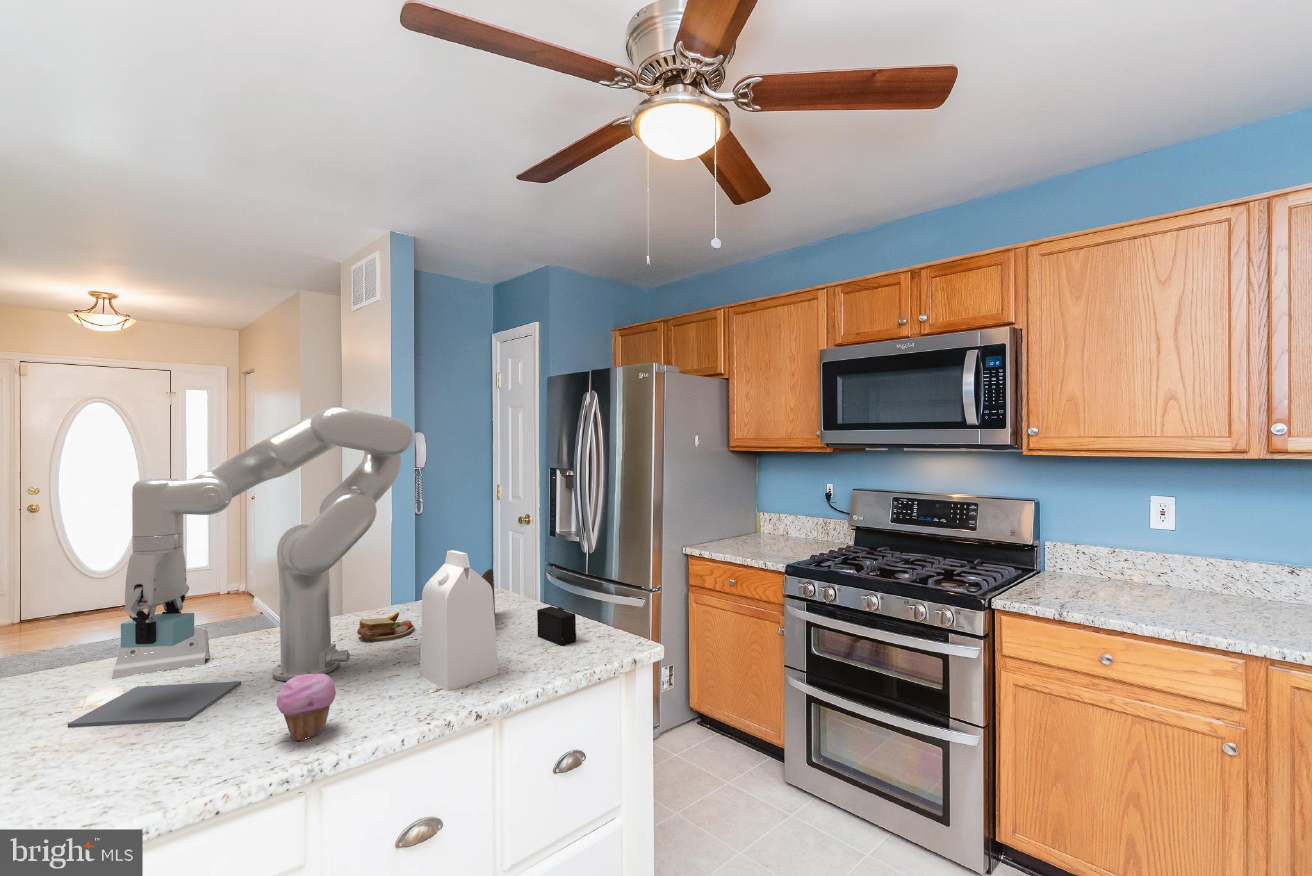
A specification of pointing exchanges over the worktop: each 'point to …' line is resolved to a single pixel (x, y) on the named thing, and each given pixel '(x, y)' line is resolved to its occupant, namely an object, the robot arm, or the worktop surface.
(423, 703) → the worktop surface
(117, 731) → the worktop surface
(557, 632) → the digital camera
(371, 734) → the worktop surface
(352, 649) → the worktop surface
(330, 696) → the cupcake
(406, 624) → the toy sandwich meal
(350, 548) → the robot arm
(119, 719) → the mat
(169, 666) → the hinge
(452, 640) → the milk
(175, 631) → the card box
